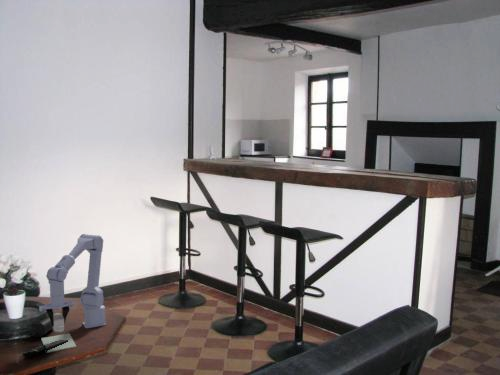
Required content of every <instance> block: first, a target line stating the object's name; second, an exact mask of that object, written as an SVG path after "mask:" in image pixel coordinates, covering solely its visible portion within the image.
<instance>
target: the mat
mask: <svg viewBox="0 0 500 375" xmlns="http://www.w3.org/2000/svg"><path fill="white" fill-rule="evenodd" d="M40 338H41V342H42V344H43V346H44V345H47V344H50V343H52V342H55V341H59V340H68V342H66V343H64V344H62V345H59V346H57V347H55V348H52V349H50V350H48V351H47V352H46V353H52V352H58V351H64V350H69V349H75V348H77V345H76V343H75V341H74V339H73V337H72V336H71V334H70V333H65V334H64V333H63V334H62V333H61V334H57V335H52V336H48V337H47V336H46V337H40Z"/></svg>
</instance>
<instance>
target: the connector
mask: <svg viewBox="0 0 500 375" xmlns="http://www.w3.org/2000/svg"><path fill="white" fill-rule="evenodd" d="M53 322H54V326H52V327H53V329H52V330H53V331H54V332H56V333H62V332H64V331H65V324H64V318H63V316H62V313H60V312H56V313H53Z"/></svg>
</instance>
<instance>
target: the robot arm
mask: <svg viewBox="0 0 500 375" xmlns="http://www.w3.org/2000/svg"><path fill="white" fill-rule="evenodd" d="M103 248H104V239H103V237H102V236H101V235H100V234H99V235H96V234H95V235H93V234H86V233H83V234H80V236H79V237H78V238H77V242H76V244H75V245H74V247H73V248H72V249H71V251H70V252H69V254H65V255H63V256H62V257H61V259H59V261H57V263H56V264H55V265H54V266H52V267H50V268H49V269H48V270H47V272H46V279H47V280H48V284H49V296H50V298H49V299H50V303H48V304H43V305H39V306H38V308H39V312H41V313H42V312H46V314H47V315H48V317H49V318H50V321H51V326H54V322H53V314H54V312H53V311H54V310H58V309H61V312H62V313H61V314H62V316H63V318H64V325H66V319H67V316H68V315H69V312H70V308H71V307H73V308H76V301H75V300H73V301H65V280H66V279H67V276H68V274H69V271H70V270H71V268H72V267H73V266H74V265H75V263H76V259H77V258H78V257H79V256H80V255H81V254H82V253H83V252H84V251H87V252H88V253H89V260H88V262H89V263H88V271H87V272H88V273H87V282H86V286H85V287H84V288H83V289H82V291H81V292H82V293H81V296H80V298H79V299H80V304H81V306H82V307H83V308H84V309H83V310H84V313H83V314H84V321H83V322H82V325H83V327H84V328H85V329H90V328H91V329H92V328H97V327H102V326H103V327H104V326H106V324H107V323H106V307H105V305H104V300H105V299H104V291H103V290H102V289H101V288H100V286H99V284H100V275H101V274H100V273H101V264H102V263H101V262H102V254H103Z"/></svg>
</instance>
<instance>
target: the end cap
mask: <svg viewBox="0 0 500 375" xmlns="http://www.w3.org/2000/svg"><path fill="white" fill-rule="evenodd" d="M31 328H36V329H31V334H32V337H37V338H43V336H44V335H46V334H48V333H49V332H50V331H52V330H54V329H53V327H52V326H51V321H50V318H49V316H41V317H39V318H38V320H34V321H32V322H31ZM34 333H35V334H34Z"/></svg>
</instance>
